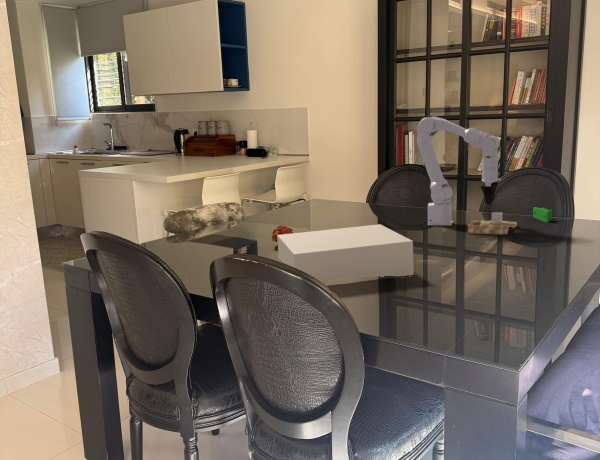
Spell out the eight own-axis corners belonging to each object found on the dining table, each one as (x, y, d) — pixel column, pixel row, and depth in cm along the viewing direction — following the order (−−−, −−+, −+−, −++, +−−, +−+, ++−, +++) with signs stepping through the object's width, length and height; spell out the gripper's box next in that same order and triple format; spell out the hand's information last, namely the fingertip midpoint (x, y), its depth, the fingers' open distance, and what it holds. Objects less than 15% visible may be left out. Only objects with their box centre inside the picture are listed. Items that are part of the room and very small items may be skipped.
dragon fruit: (283, 246, 219) (288, 258, 207) (265, 236, 216) (268, 247, 205) (295, 228, 217) (300, 239, 206) (277, 217, 214) (281, 228, 203)
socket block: (467, 233, 214) (467, 225, 214) (470, 227, 223) (470, 220, 223) (507, 234, 209) (507, 226, 208) (508, 228, 218) (508, 221, 217)
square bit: (491, 232, 214) (491, 214, 212) (492, 230, 217) (492, 212, 216) (501, 232, 212) (501, 214, 211) (502, 230, 216) (502, 212, 214)
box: (279, 267, 185) (277, 235, 183) (381, 255, 192) (380, 224, 189) (296, 291, 158) (293, 254, 156) (413, 277, 165) (412, 241, 163)
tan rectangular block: (498, 228, 221) (498, 223, 221) (500, 226, 225) (500, 221, 224) (515, 228, 219) (515, 223, 218) (516, 226, 222) (516, 221, 222)
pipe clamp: (555, 222, 225) (555, 211, 224) (546, 223, 225) (546, 211, 224) (541, 217, 236) (542, 206, 235) (533, 217, 236) (533, 207, 235)
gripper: (499, 169, 211) (498, 205, 213) (502, 165, 224) (501, 199, 226) (479, 169, 214) (479, 205, 216) (483, 165, 226) (483, 199, 229)
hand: (489, 202), depth 222 cm, fingers open, 7 cm apart
